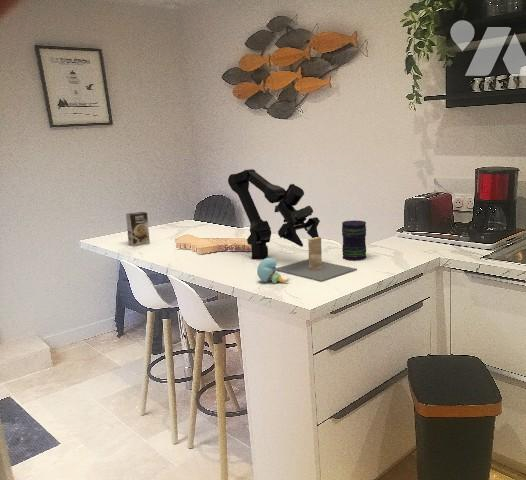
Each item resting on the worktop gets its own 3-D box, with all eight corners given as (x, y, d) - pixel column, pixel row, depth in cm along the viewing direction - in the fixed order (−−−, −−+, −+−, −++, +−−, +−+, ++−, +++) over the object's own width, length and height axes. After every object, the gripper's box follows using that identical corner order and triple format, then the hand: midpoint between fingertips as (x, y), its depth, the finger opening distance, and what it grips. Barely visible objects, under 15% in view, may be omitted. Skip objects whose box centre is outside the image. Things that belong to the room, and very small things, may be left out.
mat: (273, 270, 199) (273, 268, 199) (309, 259, 212) (309, 258, 212) (321, 281, 181) (321, 280, 181) (356, 270, 194) (356, 268, 194)
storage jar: (347, 254, 219) (347, 219, 215) (369, 256, 214) (369, 221, 211) (338, 259, 210) (338, 224, 207) (361, 261, 205) (361, 225, 202)
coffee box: (133, 246, 255) (130, 214, 252) (128, 244, 260) (125, 213, 257) (150, 243, 261) (147, 212, 257) (144, 241, 266) (141, 211, 262)
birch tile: (309, 269, 195) (308, 239, 193) (318, 267, 198) (317, 237, 196) (312, 270, 194) (312, 239, 191) (321, 268, 197) (321, 237, 195)
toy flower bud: (284, 264, 176) (254, 258, 181) (284, 288, 178) (253, 282, 183) (293, 259, 182) (263, 254, 187) (292, 282, 184) (263, 277, 190)
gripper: (281, 202, 190) (304, 234, 184) (315, 196, 202) (337, 226, 196) (268, 221, 198) (289, 253, 192) (302, 215, 210) (323, 244, 204)
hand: (310, 243), depth 196 cm, fingers open, 9 cm apart
